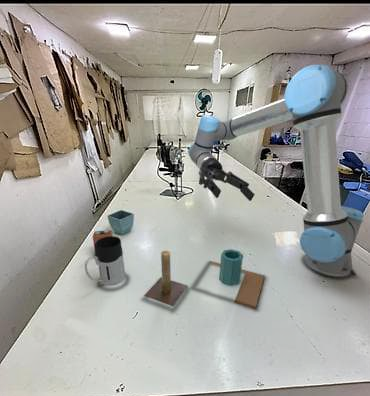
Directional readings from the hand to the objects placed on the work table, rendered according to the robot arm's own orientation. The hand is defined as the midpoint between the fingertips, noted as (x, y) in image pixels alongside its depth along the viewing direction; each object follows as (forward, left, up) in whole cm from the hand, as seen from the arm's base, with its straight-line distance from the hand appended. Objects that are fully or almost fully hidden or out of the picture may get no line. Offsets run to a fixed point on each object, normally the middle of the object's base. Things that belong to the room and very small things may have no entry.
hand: (236, 196), depth 77 cm
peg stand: (+13, +24, -27) cm, 38 cm away
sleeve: (-3, +10, -26) cm, 28 cm away
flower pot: (+53, -4, -27) cm, 60 cm away
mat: (-3, +10, -27) cm, 29 cm away
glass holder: (+32, +29, -27) cm, 51 cm away
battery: (+47, +14, -27) cm, 56 cm away
